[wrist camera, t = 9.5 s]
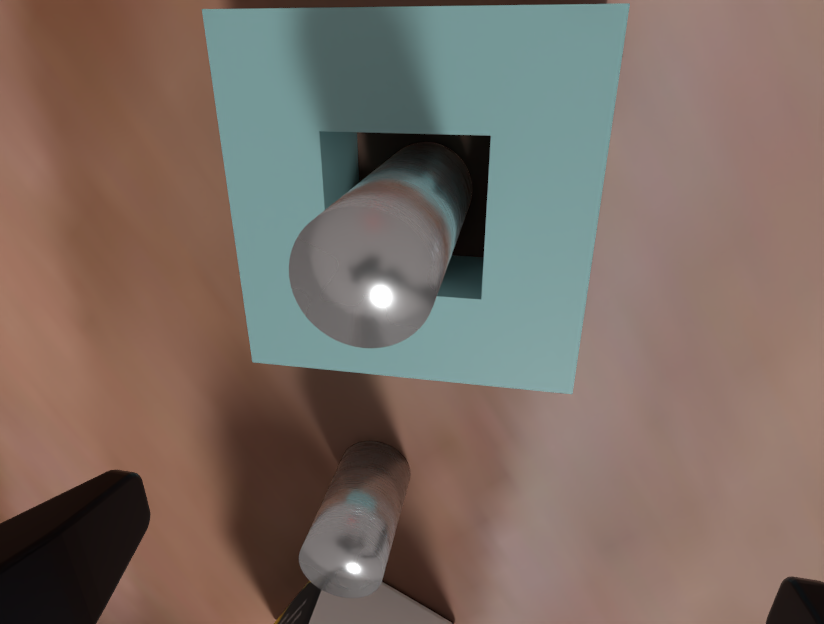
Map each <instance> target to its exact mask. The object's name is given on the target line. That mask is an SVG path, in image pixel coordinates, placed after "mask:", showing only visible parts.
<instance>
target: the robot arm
mask: <svg viewBox="0 0 824 624" xmlns="http://www.w3.org/2000/svg"><path fill="white" fill-rule="evenodd" d="M149 521H150V509H149V505H148V501H147V497H146V493H145V489H144V485H143V482H142V479H141V477H140V476H139V475H138V474H137V473H134V472H128V471H122V470H110V471H108V472H105V473H103V474H101V475H99V476H97V477H95V478H93V479H91V480H89V481H87V482H85V483H83V484H81V485H79V486H76V487H74V488H72V489H70V490H68V491H66V492H64V493H62V494H60V495H58V496H56V497H54V498H52V499H50V500H48V501H46V502H44V503H42V504H39V505H37V506H35V507H33V508H31V509H29V510H27V511H25V512H23V513H21V514H19V515H17V516H15V517H13V518H11V519H9V520H7V521H4V522H2V523H0V624H96V623H97V621H98V619H99V617H100V616H101V614H102V612H103V610H104V609H105V607H106V605H107V603H108V601H109V599H110V598H111V596H112V594H113V592H114V590H115V588H116V586H117V584H118V583H119V581H120V579H121V577H122V575H123V573H124V571H125V570H126V568H127V566H128V564H129V562H130V560H131V558H132V556H133V555H134V553H135V551H136V549H137V547H138V545H139V543H140V542H141V540H142V538H143V536H144V534H145V532H146V530H147V528H148V525H149ZM766 624H824V582H821V581H817V580H811V579H804V578H798V577H787V578H786V579H784V580H783V582H782V583H781V585H780V588H779V590H778V593H777V595H776V597H775V600H774V602H773V605H772V607H771V610H770V612H769V614H768V617H767V621H766Z"/></svg>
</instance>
